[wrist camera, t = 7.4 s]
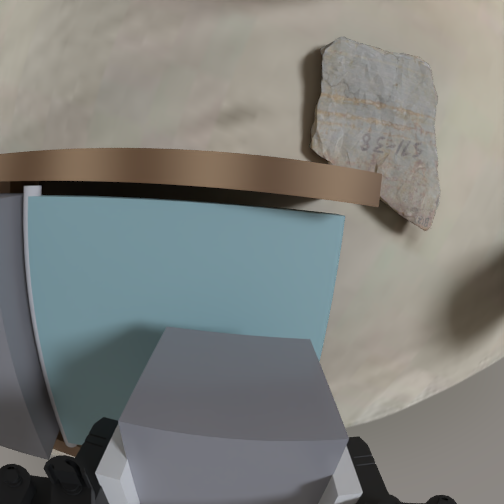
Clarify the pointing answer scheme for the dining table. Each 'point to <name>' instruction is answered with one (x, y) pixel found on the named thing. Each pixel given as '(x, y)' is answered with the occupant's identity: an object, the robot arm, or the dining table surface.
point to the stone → (381, 123)
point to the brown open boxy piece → (188, 177)
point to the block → (231, 421)
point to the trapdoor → (140, 295)
